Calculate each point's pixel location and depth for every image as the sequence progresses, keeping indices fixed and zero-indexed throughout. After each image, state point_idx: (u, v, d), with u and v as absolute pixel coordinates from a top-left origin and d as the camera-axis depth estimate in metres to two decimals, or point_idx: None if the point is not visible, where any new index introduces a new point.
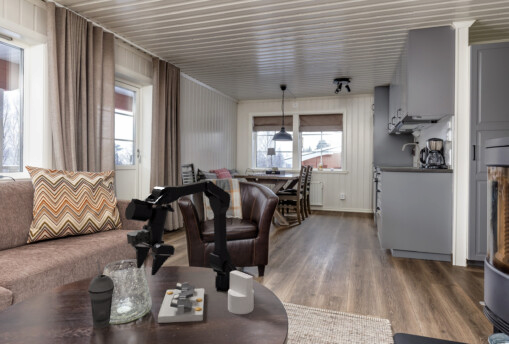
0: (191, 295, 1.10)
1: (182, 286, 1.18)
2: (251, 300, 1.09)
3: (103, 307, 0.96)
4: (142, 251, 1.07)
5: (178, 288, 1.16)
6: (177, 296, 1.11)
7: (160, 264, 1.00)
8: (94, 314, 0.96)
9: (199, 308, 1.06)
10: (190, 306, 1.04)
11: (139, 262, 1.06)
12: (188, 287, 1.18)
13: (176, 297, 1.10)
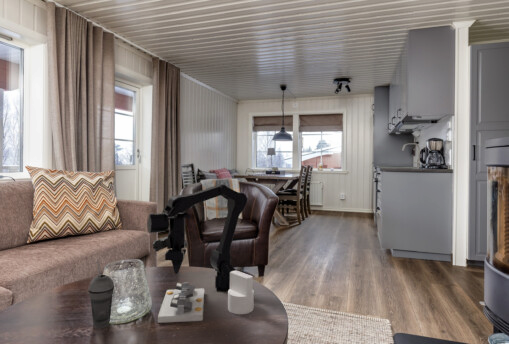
0: (191, 295, 1.10)
1: (182, 286, 1.18)
2: (251, 300, 1.09)
3: (103, 307, 0.96)
4: None
5: (178, 288, 1.16)
6: (177, 296, 1.11)
7: (178, 264, 1.15)
8: (94, 314, 0.96)
9: (199, 308, 1.06)
10: (190, 306, 1.04)
11: None
12: (188, 287, 1.18)
13: (176, 297, 1.10)
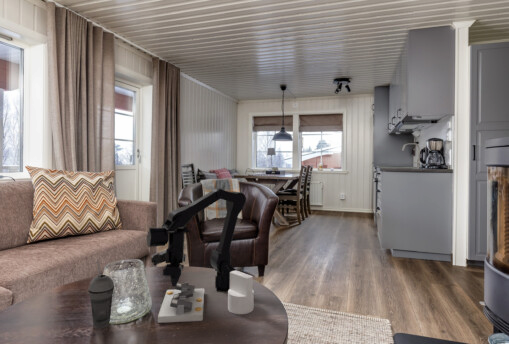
0: (191, 295, 1.10)
1: (182, 286, 1.18)
2: (251, 300, 1.09)
3: (103, 307, 0.96)
4: None
5: (178, 288, 1.16)
6: (177, 296, 1.11)
7: (176, 278, 1.17)
8: (94, 314, 0.96)
9: (199, 308, 1.06)
10: (190, 306, 1.04)
11: None
12: (188, 287, 1.18)
13: (176, 297, 1.10)
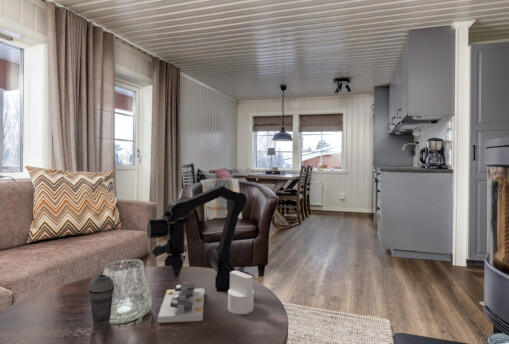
0: (191, 295, 1.10)
1: (182, 287, 1.18)
2: (251, 300, 1.09)
3: (103, 307, 0.96)
4: None
5: (178, 290, 1.16)
6: (177, 296, 1.11)
7: (178, 268, 1.17)
8: (94, 314, 0.96)
9: (199, 308, 1.06)
10: (190, 306, 1.04)
11: None
12: (188, 286, 1.18)
13: (176, 297, 1.10)
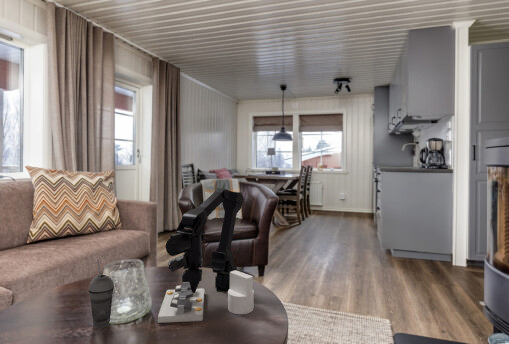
0: (191, 295, 1.10)
1: (181, 287, 1.18)
2: (251, 300, 1.09)
3: (103, 307, 0.96)
4: None
5: (178, 290, 1.16)
6: (177, 296, 1.11)
7: (196, 283, 1.11)
8: (94, 314, 0.96)
9: (199, 308, 1.06)
10: (190, 306, 1.04)
11: None
12: (188, 286, 1.18)
13: (176, 297, 1.10)
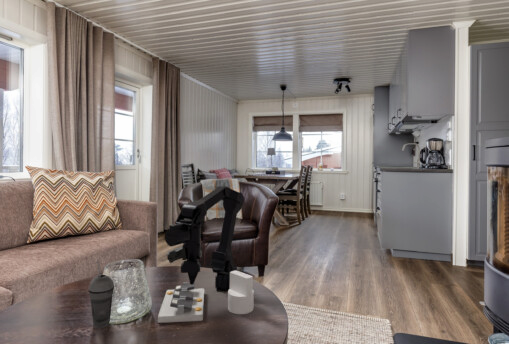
0: (191, 299, 1.10)
1: (181, 287, 1.18)
2: (251, 300, 1.09)
3: (103, 307, 0.96)
4: None
5: (178, 290, 1.16)
6: (178, 294, 1.11)
7: (194, 275, 1.10)
8: (94, 314, 0.96)
9: (199, 308, 1.06)
10: (190, 306, 1.04)
11: None
12: (188, 286, 1.18)
13: (177, 294, 1.10)
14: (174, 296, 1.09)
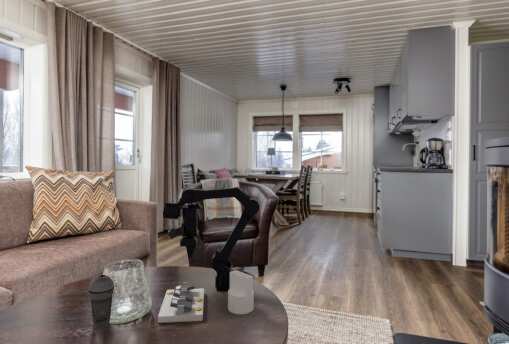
0: (191, 300, 1.10)
1: (181, 287, 1.18)
2: (251, 300, 1.09)
3: (103, 307, 0.96)
4: None
5: None
6: (178, 293, 1.11)
7: (192, 250, 1.27)
8: (94, 314, 0.96)
9: (199, 308, 1.06)
10: (190, 306, 1.04)
11: None
12: (187, 286, 1.18)
13: (177, 293, 1.10)
14: (175, 294, 1.09)
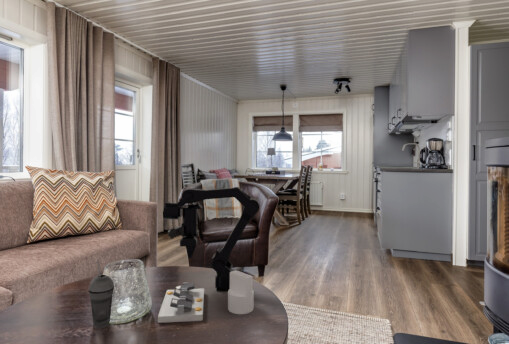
0: (190, 301, 1.10)
1: (181, 287, 1.18)
2: (251, 300, 1.09)
3: (103, 307, 0.96)
4: None
5: None
6: (179, 292, 1.11)
7: (192, 250, 1.27)
8: (94, 314, 0.96)
9: (199, 308, 1.06)
10: (190, 306, 1.04)
11: None
12: (187, 286, 1.18)
13: (178, 293, 1.10)
14: (175, 294, 1.09)
